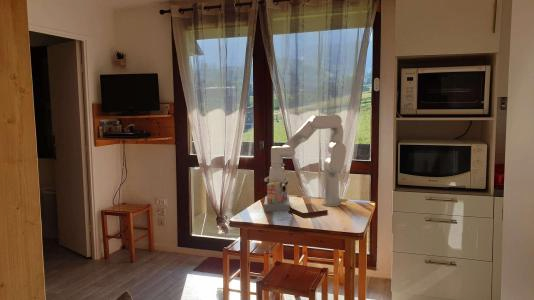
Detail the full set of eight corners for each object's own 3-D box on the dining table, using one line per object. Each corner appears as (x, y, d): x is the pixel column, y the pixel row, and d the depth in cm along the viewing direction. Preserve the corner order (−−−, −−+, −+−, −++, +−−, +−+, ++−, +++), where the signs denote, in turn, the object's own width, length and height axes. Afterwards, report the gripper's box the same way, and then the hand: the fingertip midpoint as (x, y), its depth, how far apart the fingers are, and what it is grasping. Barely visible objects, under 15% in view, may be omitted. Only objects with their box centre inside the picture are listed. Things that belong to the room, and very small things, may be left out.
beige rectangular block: (278, 196, 292) (278, 178, 290) (287, 197, 289) (287, 179, 288) (266, 202, 272) (266, 183, 271) (276, 203, 270) (276, 184, 268)
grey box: (288, 203, 293) (288, 196, 293) (289, 212, 267) (289, 204, 267) (265, 203, 294) (265, 196, 293) (264, 212, 268) (264, 204, 267)
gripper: (290, 164, 280) (290, 190, 282) (264, 164, 283) (265, 190, 285) (289, 166, 273) (289, 193, 274) (262, 165, 276) (262, 192, 277)
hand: (277, 191), depth 280 cm, fingers open, 8 cm apart
